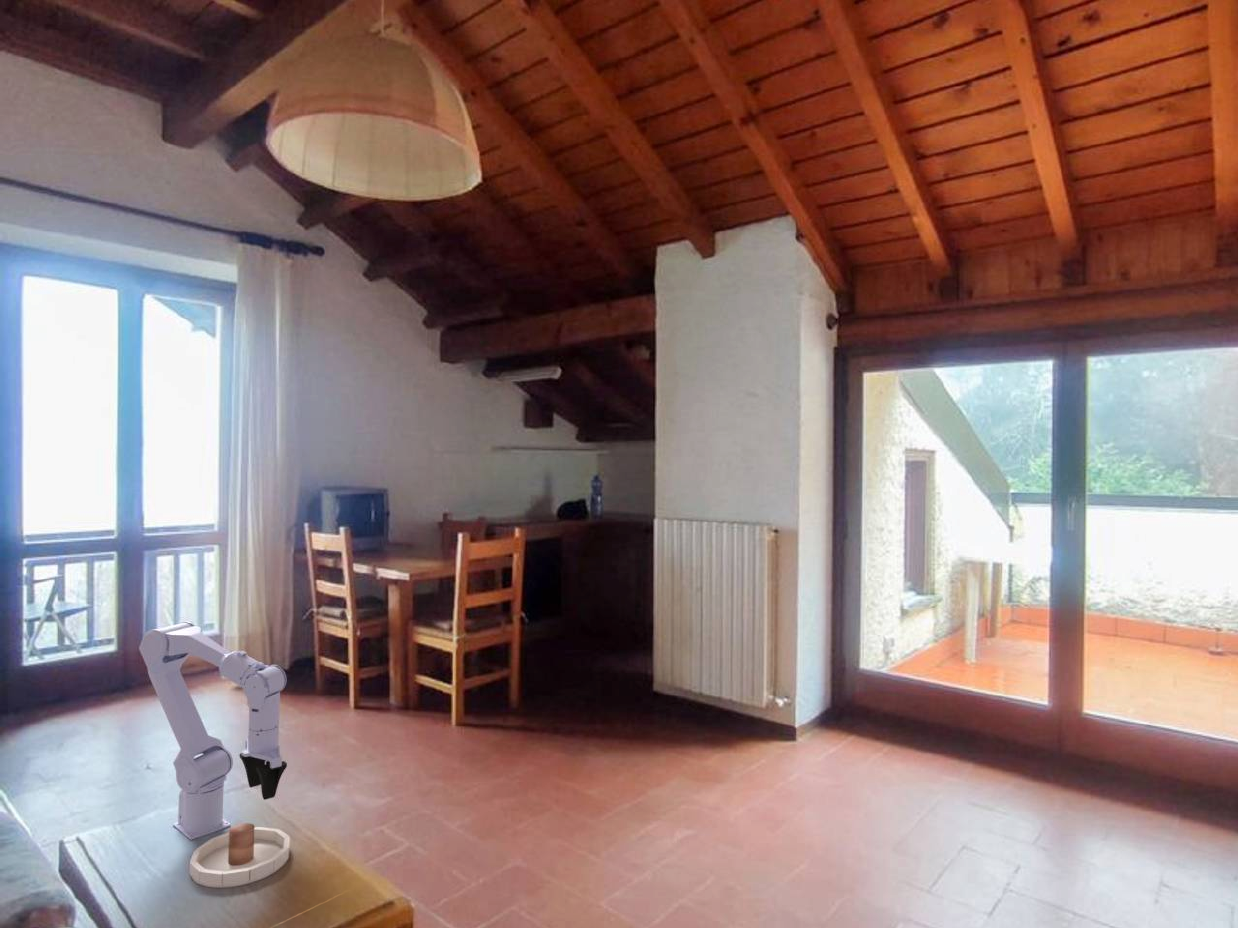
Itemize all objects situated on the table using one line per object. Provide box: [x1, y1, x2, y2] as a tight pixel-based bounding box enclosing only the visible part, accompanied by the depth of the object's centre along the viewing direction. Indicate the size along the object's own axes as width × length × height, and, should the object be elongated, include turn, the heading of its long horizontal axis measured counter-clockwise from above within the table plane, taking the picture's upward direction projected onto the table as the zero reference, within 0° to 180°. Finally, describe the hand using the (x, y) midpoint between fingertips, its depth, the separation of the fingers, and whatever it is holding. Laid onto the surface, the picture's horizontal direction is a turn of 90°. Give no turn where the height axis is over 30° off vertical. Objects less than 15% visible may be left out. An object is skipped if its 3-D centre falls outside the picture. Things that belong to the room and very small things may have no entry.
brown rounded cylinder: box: [228, 822, 256, 866], centre depth 141 cm, size 4×4×6 cm
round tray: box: [188, 826, 291, 889], centre depth 141 cm, size 17×17×3 cm
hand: (261, 791), depth 151 cm, fingers open, 7 cm apart
